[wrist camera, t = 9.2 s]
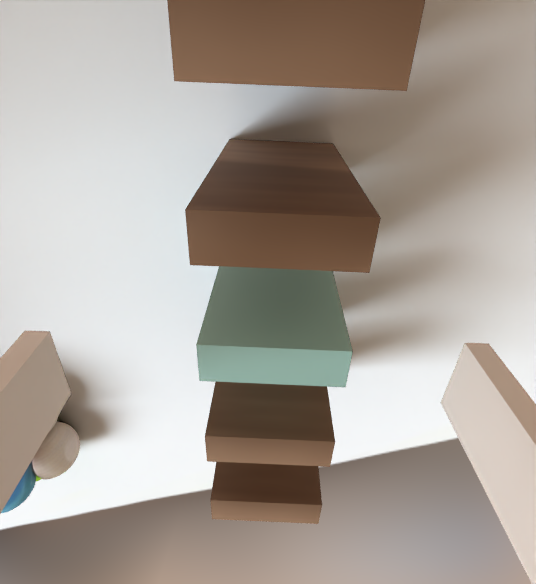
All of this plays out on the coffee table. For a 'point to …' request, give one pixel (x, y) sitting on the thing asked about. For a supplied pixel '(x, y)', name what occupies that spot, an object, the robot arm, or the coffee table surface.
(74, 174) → the coffee table surface
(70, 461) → the colorful disc cluster
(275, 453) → the domino
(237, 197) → the domino
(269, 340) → the teal domino
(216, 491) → the domino
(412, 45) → the domino
